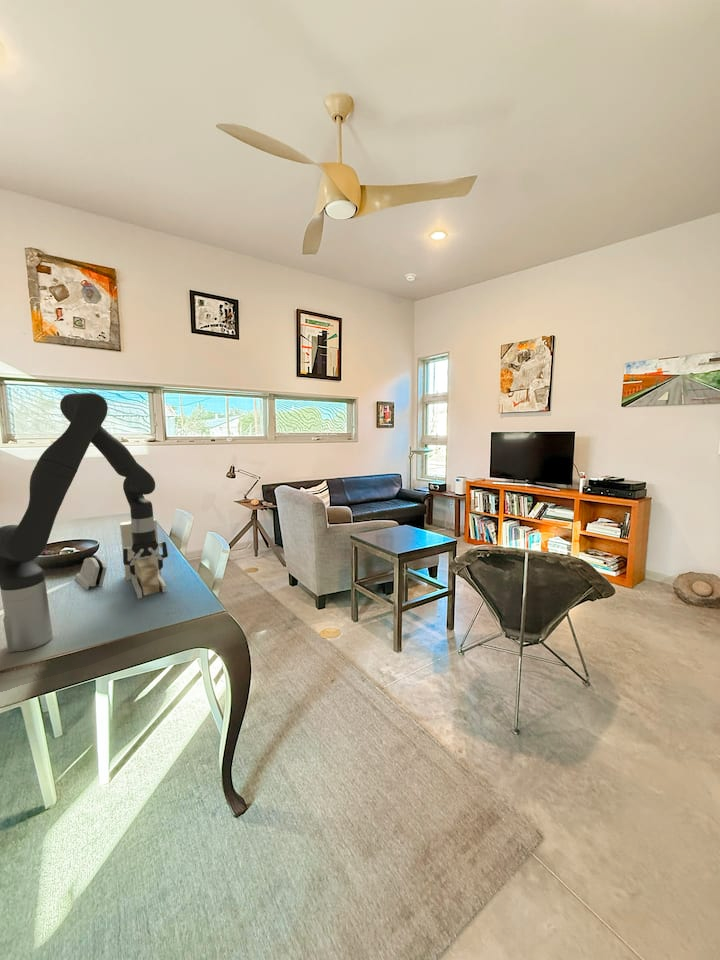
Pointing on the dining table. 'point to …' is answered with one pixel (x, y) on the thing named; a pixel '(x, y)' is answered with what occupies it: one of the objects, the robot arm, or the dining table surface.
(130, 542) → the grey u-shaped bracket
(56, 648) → the dining table surface
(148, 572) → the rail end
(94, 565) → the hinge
